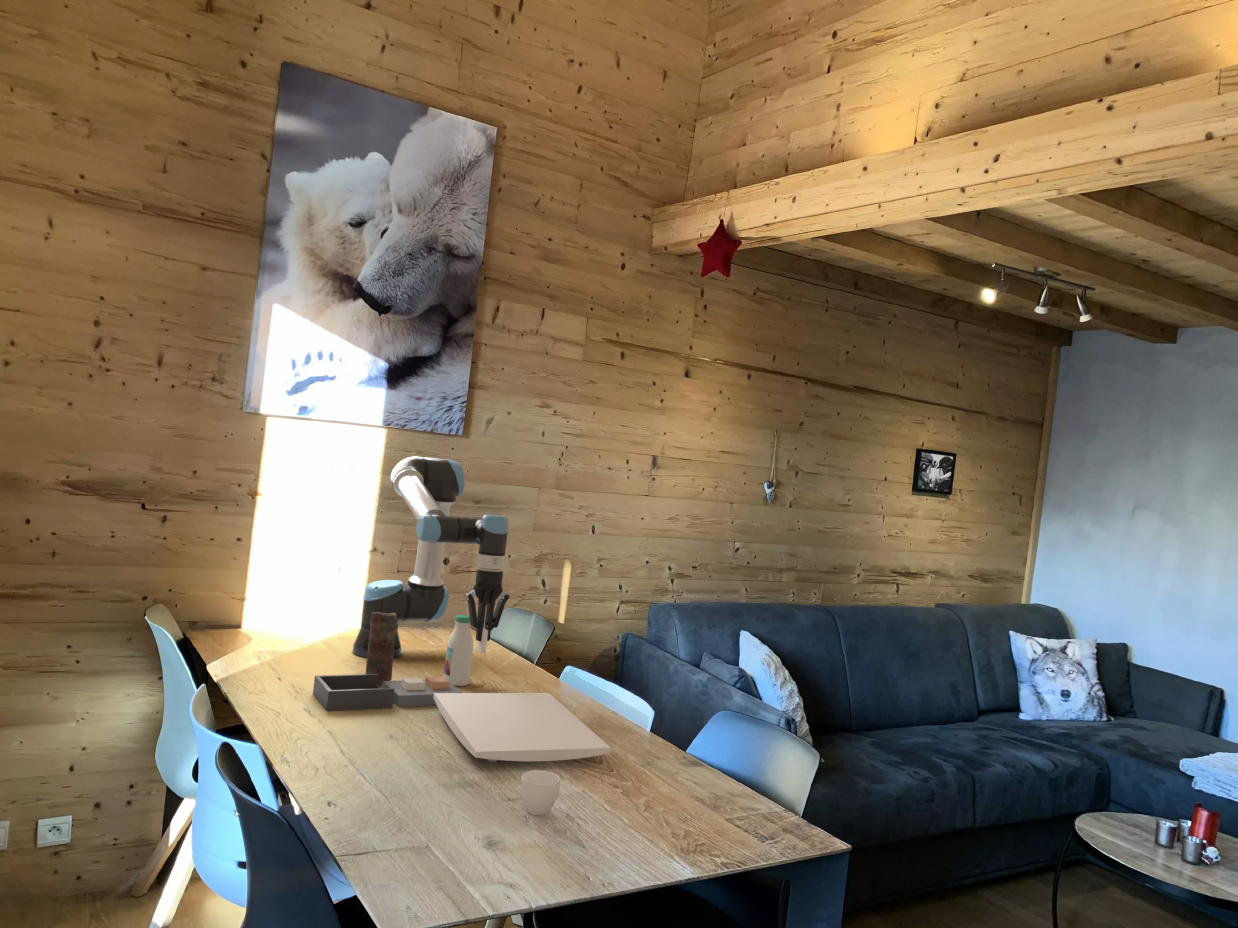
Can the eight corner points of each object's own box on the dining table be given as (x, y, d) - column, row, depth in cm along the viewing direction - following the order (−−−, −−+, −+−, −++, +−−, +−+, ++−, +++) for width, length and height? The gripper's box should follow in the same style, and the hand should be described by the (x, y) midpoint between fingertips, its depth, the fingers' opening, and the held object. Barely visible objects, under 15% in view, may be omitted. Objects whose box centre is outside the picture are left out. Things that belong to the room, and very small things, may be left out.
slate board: (382, 691, 248) (383, 681, 248) (444, 689, 258) (445, 678, 258) (397, 706, 236) (398, 695, 236) (461, 703, 246) (463, 692, 246)
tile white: (400, 685, 246) (401, 677, 246) (418, 684, 249) (419, 677, 249) (406, 690, 242) (407, 682, 242) (424, 689, 245) (425, 682, 245)
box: (312, 694, 239) (314, 675, 239) (376, 691, 248) (378, 673, 248) (326, 710, 226) (328, 691, 226) (392, 707, 235) (394, 688, 235)
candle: (358, 680, 257) (366, 611, 257) (374, 676, 264) (382, 608, 263) (380, 686, 254) (388, 615, 254) (396, 681, 261) (404, 612, 261)
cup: (530, 821, 173) (534, 786, 173) (505, 801, 182) (509, 768, 181) (564, 815, 178) (567, 781, 178) (538, 796, 186) (541, 764, 186)
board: (431, 710, 238) (433, 692, 238) (546, 709, 250) (548, 692, 250) (473, 772, 196) (475, 751, 196) (608, 767, 209) (610, 747, 209)
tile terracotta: (425, 684, 250) (426, 677, 250) (442, 683, 253) (443, 676, 253) (431, 689, 246) (432, 681, 246) (448, 688, 248) (449, 681, 248)
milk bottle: (472, 681, 269) (479, 615, 269) (465, 687, 262) (472, 619, 262) (447, 678, 270) (454, 612, 270) (439, 684, 262) (447, 616, 262)
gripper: (473, 570, 249) (464, 655, 248) (516, 572, 255) (507, 654, 255) (463, 566, 255) (454, 649, 255) (505, 568, 262) (497, 648, 262)
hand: (481, 652), depth 255 cm, fingers closed
